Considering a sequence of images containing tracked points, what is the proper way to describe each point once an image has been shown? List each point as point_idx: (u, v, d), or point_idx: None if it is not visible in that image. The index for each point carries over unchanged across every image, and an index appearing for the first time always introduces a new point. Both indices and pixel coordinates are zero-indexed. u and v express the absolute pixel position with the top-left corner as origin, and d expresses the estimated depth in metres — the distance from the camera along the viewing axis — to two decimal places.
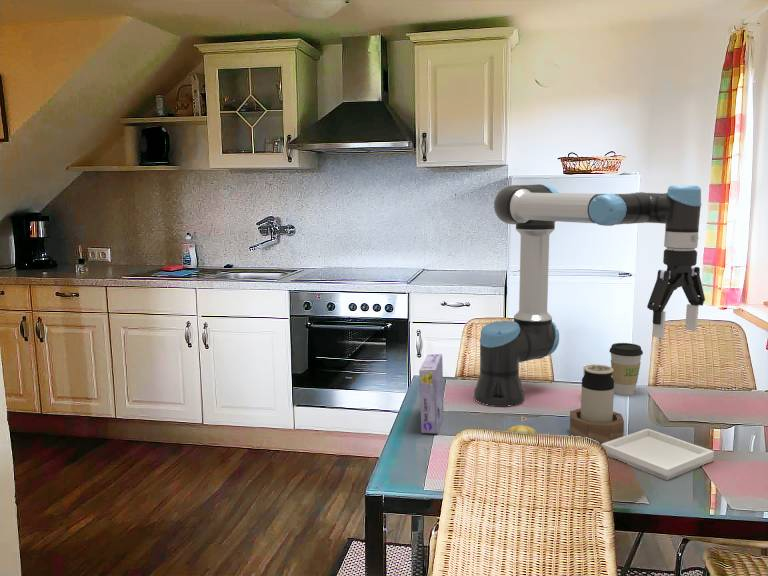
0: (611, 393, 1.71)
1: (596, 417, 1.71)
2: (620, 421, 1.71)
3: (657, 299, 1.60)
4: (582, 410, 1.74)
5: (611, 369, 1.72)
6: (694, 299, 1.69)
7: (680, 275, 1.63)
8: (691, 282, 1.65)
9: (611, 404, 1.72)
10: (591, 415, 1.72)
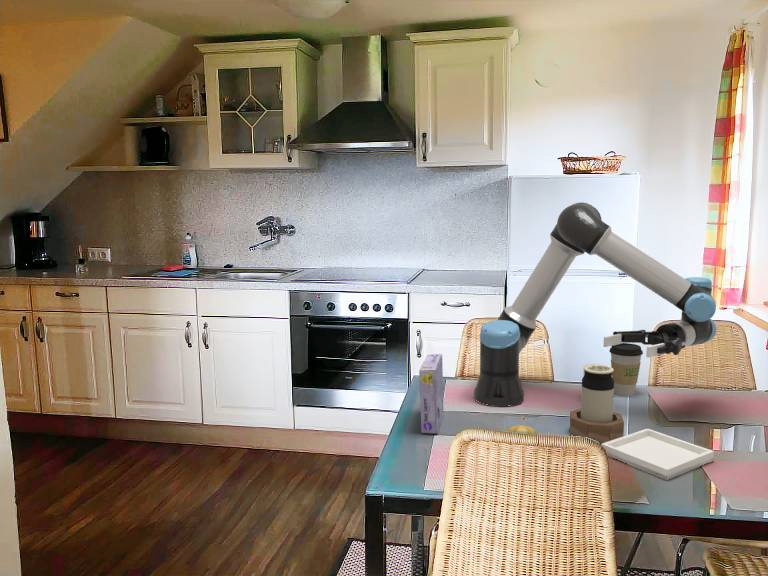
0: (611, 393, 1.71)
1: (596, 417, 1.71)
2: (620, 421, 1.71)
3: (679, 351, 1.76)
4: (582, 410, 1.74)
5: (611, 369, 1.72)
6: (625, 341, 1.88)
7: None
8: None
9: (611, 404, 1.72)
10: (591, 415, 1.72)
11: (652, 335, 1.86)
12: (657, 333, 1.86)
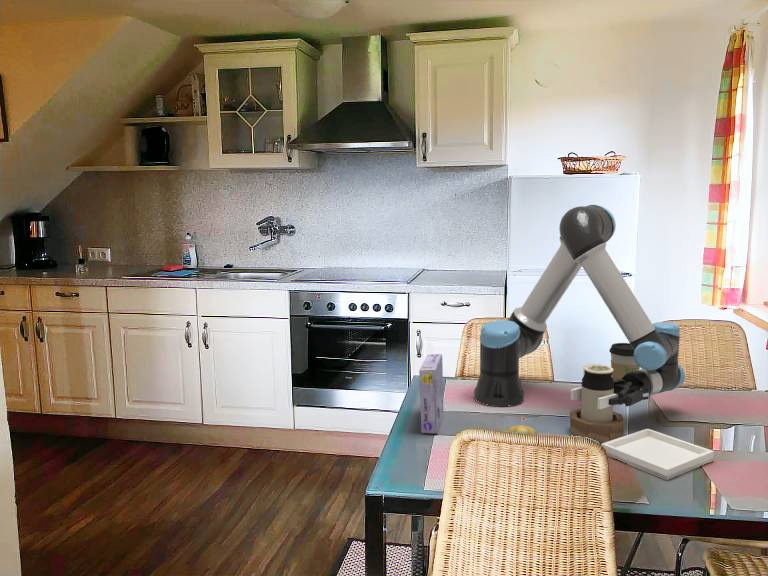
0: (611, 393, 1.71)
1: (596, 417, 1.71)
2: (620, 421, 1.71)
3: (633, 403, 1.71)
4: (582, 410, 1.74)
5: (611, 369, 1.72)
6: None
7: None
8: None
9: None
10: (591, 415, 1.72)
11: (618, 384, 1.80)
12: (623, 382, 1.81)
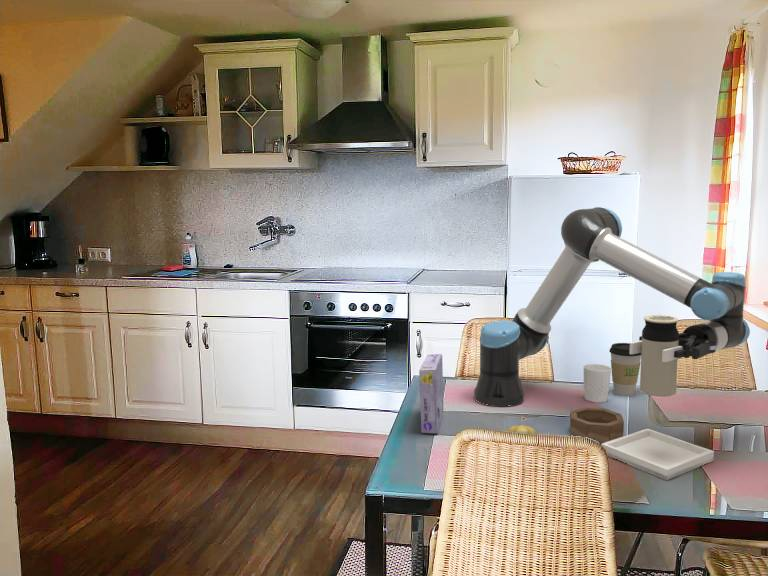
0: (676, 345, 1.55)
1: (660, 372, 1.55)
2: (620, 421, 1.71)
3: (700, 355, 1.54)
4: (643, 365, 1.58)
5: (676, 318, 1.55)
6: None
7: None
8: None
9: None
10: (654, 370, 1.55)
11: (679, 338, 1.64)
12: (685, 335, 1.64)
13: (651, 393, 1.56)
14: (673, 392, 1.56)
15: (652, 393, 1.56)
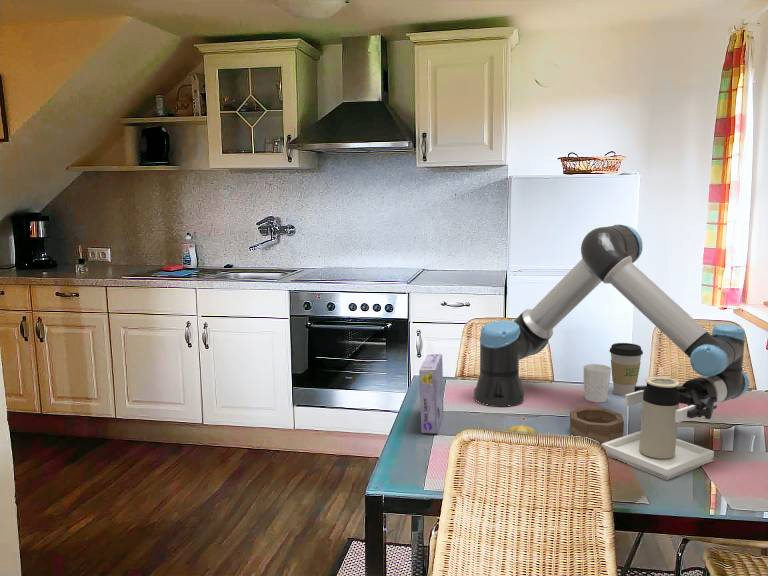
0: (676, 409, 1.56)
1: (660, 435, 1.56)
2: (620, 421, 1.71)
3: (711, 414, 1.55)
4: (643, 426, 1.59)
5: (677, 382, 1.57)
6: None
7: None
8: None
9: None
10: (654, 432, 1.57)
11: (679, 392, 1.65)
12: (684, 390, 1.66)
13: (650, 455, 1.58)
14: (672, 455, 1.58)
15: (651, 455, 1.58)
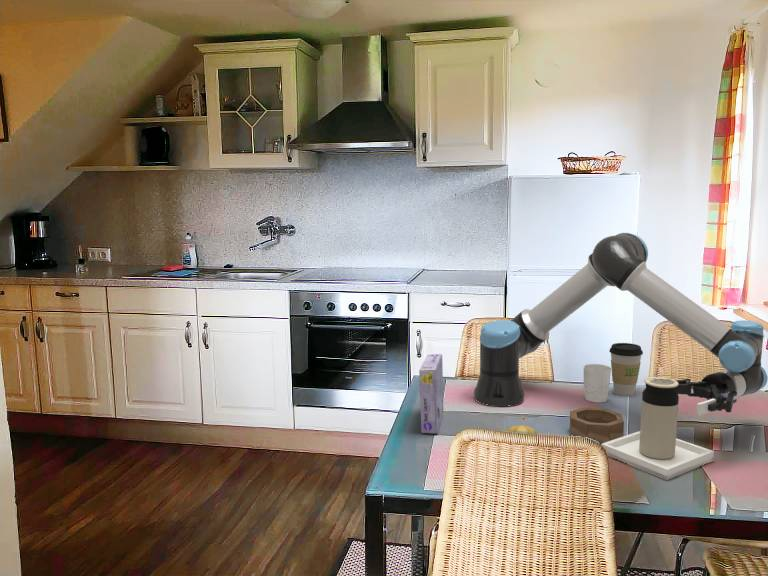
0: (676, 409, 1.56)
1: (659, 435, 1.56)
2: (620, 421, 1.71)
3: (731, 408, 1.58)
4: (642, 427, 1.59)
5: (676, 382, 1.57)
6: None
7: None
8: None
9: (675, 421, 1.57)
10: (654, 433, 1.57)
11: (699, 386, 1.68)
12: (704, 384, 1.69)
13: (650, 455, 1.58)
14: (672, 455, 1.58)
15: (651, 455, 1.58)
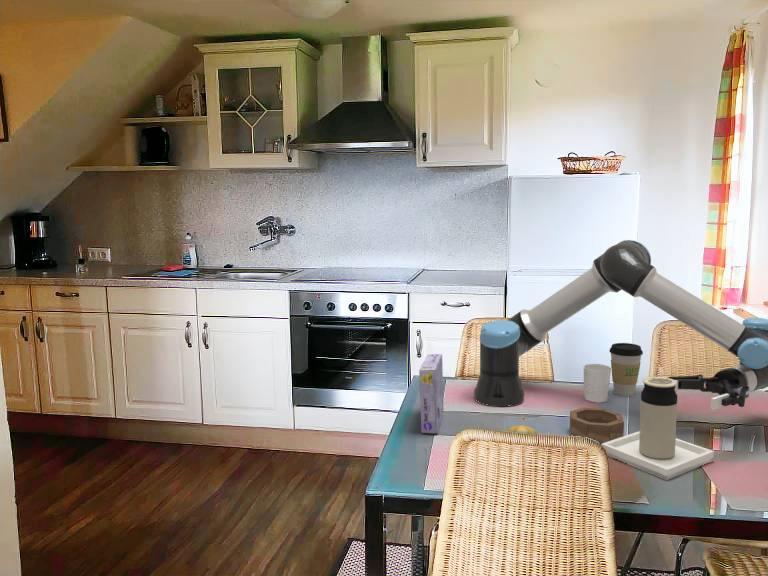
0: (675, 408, 1.56)
1: (659, 435, 1.56)
2: (620, 421, 1.71)
3: (744, 402, 1.62)
4: (642, 427, 1.59)
5: (674, 382, 1.57)
6: (682, 387, 1.74)
7: None
8: None
9: (674, 420, 1.57)
10: (653, 432, 1.57)
11: (711, 382, 1.72)
12: (717, 380, 1.73)
13: (650, 455, 1.58)
14: (672, 454, 1.58)
15: (651, 455, 1.58)
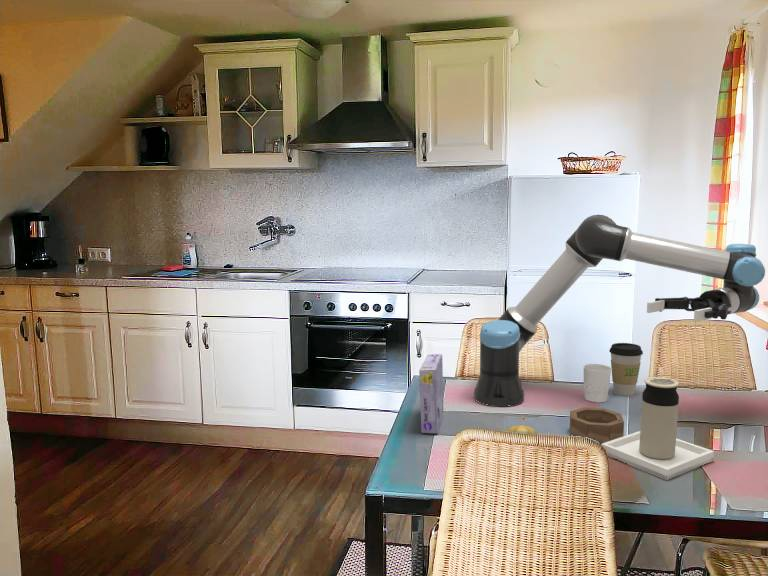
0: (676, 409, 1.56)
1: (659, 435, 1.56)
2: (620, 421, 1.71)
3: (726, 316, 1.72)
4: (643, 427, 1.59)
5: (676, 382, 1.57)
6: (668, 307, 1.83)
7: None
8: None
9: (675, 421, 1.57)
10: (653, 433, 1.57)
11: (696, 301, 1.81)
12: (701, 299, 1.82)
13: (650, 455, 1.58)
14: (672, 455, 1.58)
15: (651, 455, 1.58)
